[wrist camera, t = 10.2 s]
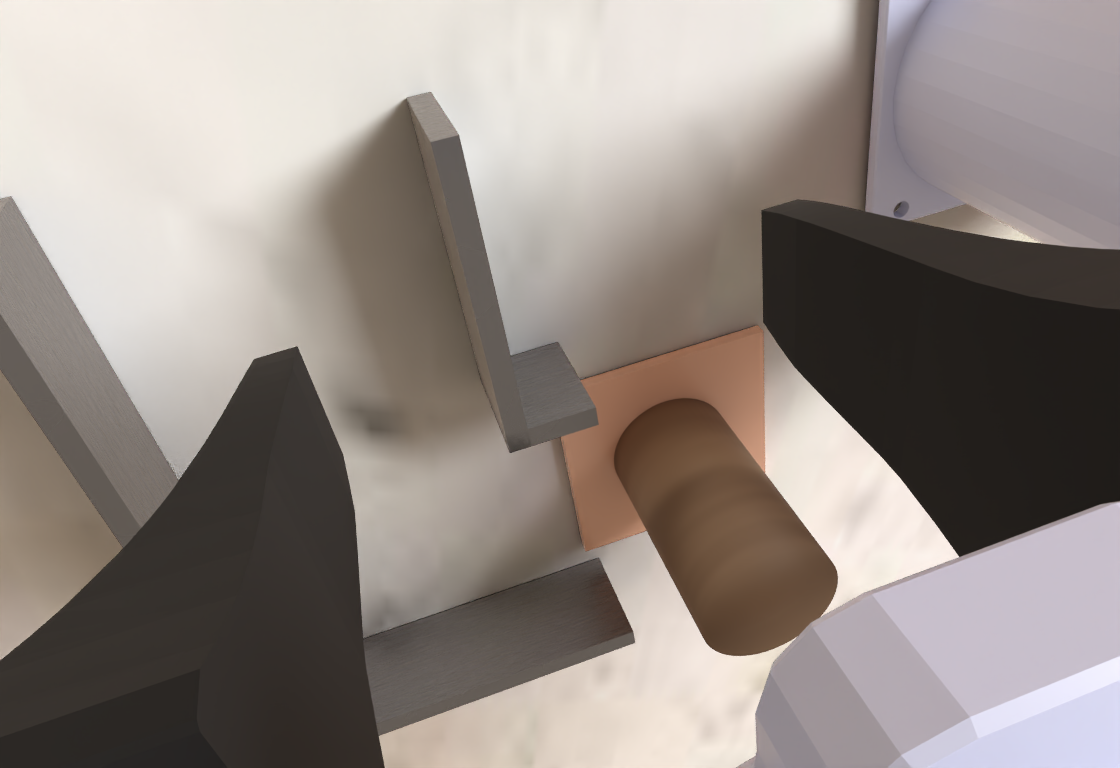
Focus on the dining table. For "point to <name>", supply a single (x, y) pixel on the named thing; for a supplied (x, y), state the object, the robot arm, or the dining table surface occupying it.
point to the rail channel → (147, 479)
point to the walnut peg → (722, 529)
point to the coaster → (623, 394)
